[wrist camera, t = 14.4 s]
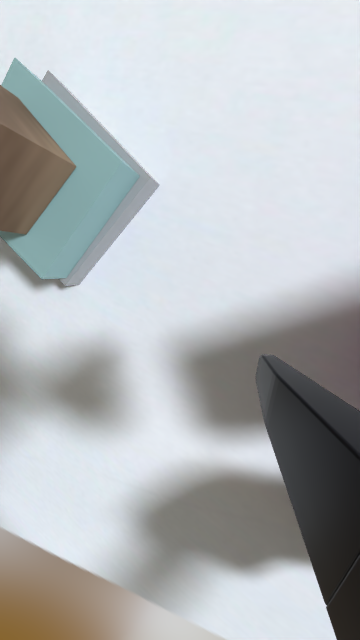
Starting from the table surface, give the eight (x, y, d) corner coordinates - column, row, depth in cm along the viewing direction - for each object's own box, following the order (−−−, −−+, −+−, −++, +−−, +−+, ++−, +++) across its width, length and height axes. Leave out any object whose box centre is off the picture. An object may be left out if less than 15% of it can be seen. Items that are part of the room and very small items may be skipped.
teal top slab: (140, 176, 18) (122, 161, 15) (66, 278, 20) (41, 279, 18) (46, 85, 18) (14, 57, 16) (-13, 196, 21) (-48, 187, 19)
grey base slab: (163, 188, 20) (150, 177, 17) (84, 284, 23) (65, 286, 21) (72, 93, 20) (47, 70, 18) (7, 200, 23) (-21, 192, 21)
